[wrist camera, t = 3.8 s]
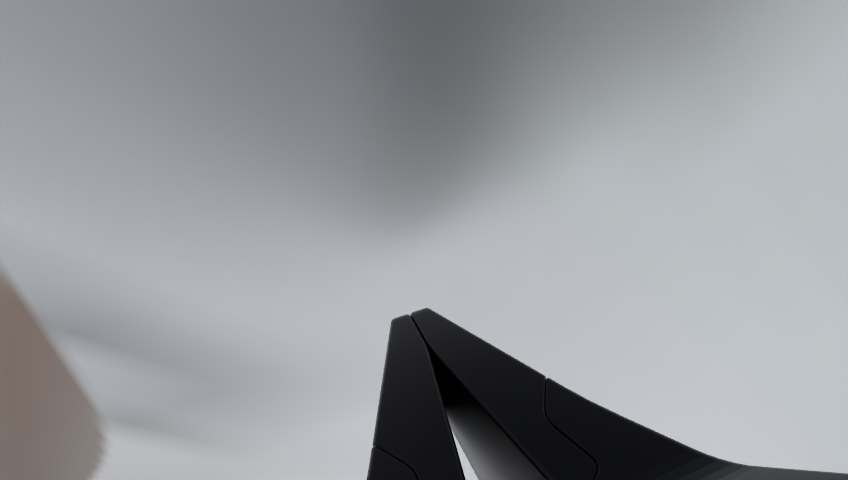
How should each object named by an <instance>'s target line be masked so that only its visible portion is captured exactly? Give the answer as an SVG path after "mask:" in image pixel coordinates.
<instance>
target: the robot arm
mask: <svg viewBox="0 0 848 480" xmlns="http://www.w3.org/2000/svg"><path fill="white" fill-rule="evenodd" d="M451 429H452V430H451ZM452 431H453V433H454V435H455V436H456V438H457V440H458V442H459V444H460V446H461V448H462V449H463V451H464V453H465V455H466V457H467V459H468V461H469V463H470V464H471V466H472V468H473V470H474V472H475V474H476V476H477V477H478V479H479V480H848V474H845V473H833V472H820V471H808V470H795V469H783V468H770V467H758V466H748V465H743V464H738V463H733V462H730V461H726V460H722V459H719V458H716V457H713V456H710V455H707V454H705V453H702V452H700V451H698V450H695V449H693V448H690V447H688V446H686V445H684V444H682V443H680V442H677V441H675V440H673V439H671V438H669V437H666V436H664V435H662V434H660V433H658V432H655V431H653V430H651V429H649V428H647V427H644V426H642V425H640V424H638V423H636V422H634V421H631V420H629V419H627V418H625V417H623V416H620V415H618V414H616V413H614V412H612V411H610V410H608V409H606V408H604V407H602V406H600V405H598V404H596V403H593V402H591V401H589V400H587V399H586V398H584V397H582V396H580V395H578V394H576V393H575V392H573V391H571V390H569V389H567V388H565V387H564V386H562V385H560V384H559V383H557V382H555V381H553V380H552V379H550V378H547V379H546V377H545V376H544V375H543V374H541V373H539V372H537V371H536V370H534V369H532V368H531V367H529V366H527V365H525V364H524V363H522V362H520V361H519V360H517V359H515V358H513V357H512V356H510V355H508V354H506V353H505V352H503V351H501V350H500V349H498V348H496V347H494V346H493V345H491V344H489V343H487V342H486V341H484V340H482V339H481V338H479V337H477V336H475V335H474V334H472V333H470V332H469V331H467V330H465V329H463V328H462V327H460V326H458V325H456V324H455V323H453V322H451V321H450V320H448V319H446V318H444V317H443V316H441V315H439V314H437V313H436V312H434V311H432V310H431V309H429V308H425V309H422V310H419V311H416V312H413V313H411V316H410V315H404V316H401V317H398V318H395V319H393V320H392V322H391V327H390V334H389V340H388V347H387V353H386V360H385V367H384V373H383V380H382V386H381V393H380V400H379V406H378V413H377V419H376V426H375V433H374V439H373V448H372V451H371V458H370V464H369V470H368V475H367V480H465V476H464V473H463V469H462V466H461V462H460V459H459V455H458V451H457V448H456V444H455V441H454V437H453V434H452Z"/></svg>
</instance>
